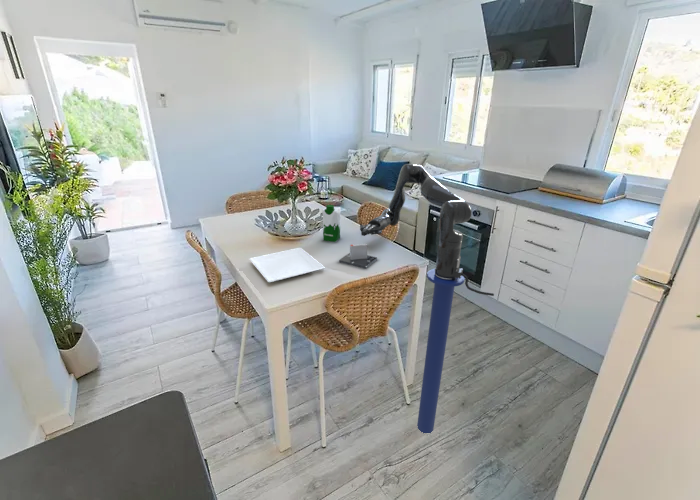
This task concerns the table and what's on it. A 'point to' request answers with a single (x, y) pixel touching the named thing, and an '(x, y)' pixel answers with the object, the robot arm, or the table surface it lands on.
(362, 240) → the table surface
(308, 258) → the plate
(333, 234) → the milk carton
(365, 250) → the grey rectangular block
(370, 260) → the panel
